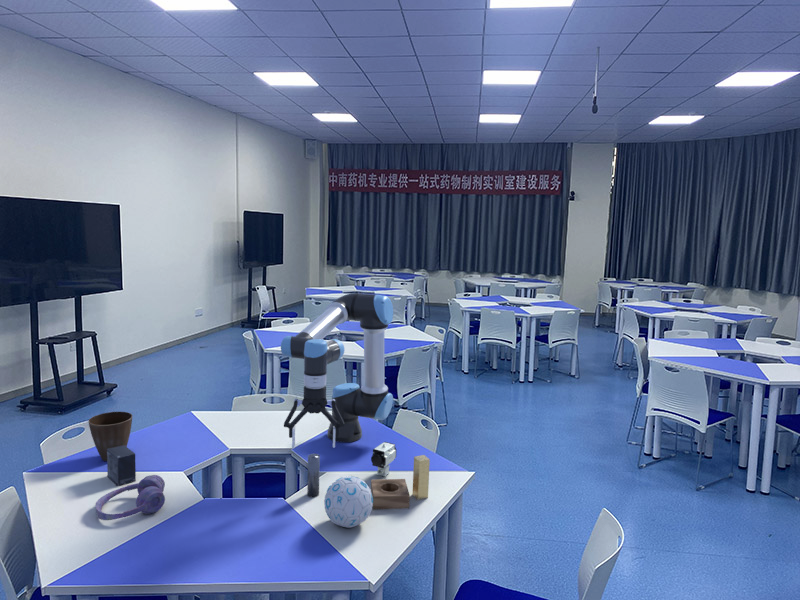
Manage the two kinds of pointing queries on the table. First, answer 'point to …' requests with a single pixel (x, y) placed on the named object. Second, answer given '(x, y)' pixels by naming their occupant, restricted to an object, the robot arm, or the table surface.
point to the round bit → (313, 475)
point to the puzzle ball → (348, 501)
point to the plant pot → (110, 431)
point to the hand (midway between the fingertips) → (313, 446)
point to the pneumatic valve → (383, 457)
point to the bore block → (390, 494)
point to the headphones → (145, 502)
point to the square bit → (421, 477)
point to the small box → (121, 465)
